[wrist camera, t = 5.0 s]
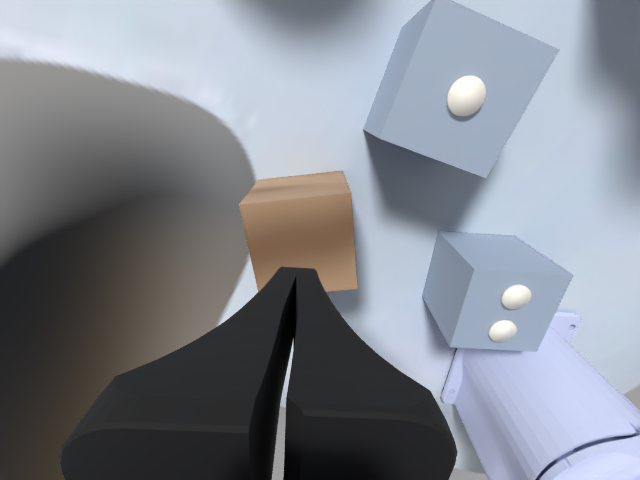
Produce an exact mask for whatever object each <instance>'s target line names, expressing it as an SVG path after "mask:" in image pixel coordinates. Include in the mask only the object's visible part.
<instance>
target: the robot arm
mask: <svg viewBox="0 0 640 480" xmlns="http://www.w3.org/2000/svg"><path fill="white" fill-rule="evenodd" d="M581 320H582V319H581V317H580V316H579V315H577V314H576V313H565V312H556V313H555V315H554V317H553V319H552V321H551V323H550V325H549V328H548V330H547V332H546V334H545V336H544V338H543V340H542V342H541V344H540V346H539V349H538V351H537V352H533V351H513V350H493V349H473V348H457V350H456V353H455V356H454V359H453V362H452V365H451V368H450V371H449V374H448V377H447V380H446V384H445V387H444V390H443V393H442V396H441V399H442V401H443V403H445V404H455V407H456V409H457V411H458V413H459V415H460V418H461V420H462V422H463V424H464V427H465V429H466V431H467V433H468V435H469V438H470V440H471V442H472V444H473V446H474V449H475V451H476V453H477V455H478V458H479V460H480V462H481V464H482V466H483V469H484V471H485V473H486V475H487V477H488V479H489V480H640V411H639V410H638V409H637V408H636V407H635V406H634V405H633V404H632V403H631V402H630V401H629V400H628V399H627V398H626V397H625V396H624V395H623V394H622V393H621V392H620V391H619V390H617V389H616V388H615V387H614V386H613V385H612V384H611V383H610V382H609V381H608V380H607V379H606V378H605V377H604V376H603V375H602V374H601V373H600V372H599V371H598V370H597V369H595V368H594V367H593V366H592V365H591V364H590V363H589V362H588V361H587V360H586V359H585V358H584V357H583V356H582V355H581V354H580V353H579V352H578V351H577V350H576V349H575V348H574V347H572V346H571V345H570V342H571V340H572V338H573V336H574V334H575V332H576V330H577V328H578V326H579V325H580V323H581ZM293 337H294V352H293V359H292V366H291V373H290V379H289V386H288V392H287V399H286V429H285V459H284V478H283V479H284V480H448V479H449V477H450V475H451V472H452V470H453V468H454V465H455V462H456V457H457V449H456V445H455V441H454V438H453V436H452V433H451V431H450V428H449V426H448V424H447V421H446V419H445V417H444V415H443V414H442V412H441V410H440V408H439V406H438V404H437V402H436V401H435V399H434V397H433V395H432V393H431V391H430V390H428V389H427V388H425V387H424V386H422V385H420V384H419V383H417V382H416V381H414V380H413V379H411V378H410V377H408V376H406V375H405V374H403V373H402V372H400V371H399V370H397V369H396V368H395V367H393V366H392V365H391V364H390V363H388V362H387V361H386V360H384V359H383V358H382V357H381V356H379V355H378V354H377V353H376V352H375V351H373V350H372V349H371V348H370V347H369V346H368V345H367V344H366V343H365V342H364V341H363V340H361V338H360V337H359V336H358V335H357V334H356V333H355V332H354V331H353V330H352V329H351V328H350V326H349V325H348V324H347V323H346V322H345V320H344V319H343V318H342V316H341V315H340V314H339V312H338V311H337V309H336V308H335V306H334V305H333V303H332V302H331V300H330V298H329V297H328V295H327V293H326V291H325V290H324V288H323V286H322V284H321V281H320V279H319V276H318V273H317V271H316V270H315V269H314V268H296V267H280V268H279V269H278V270H277V271H276V273H275V274H274V275H273V276H272V278H271V279H270V280H269V281H268V282H267V283H266V285H265V286H264V287H263V288H262V289H261V290H260V291H259V292H258V293H257V294H256V295H255V296H254V297H253V298H252V299H251V300H250V301H249V302H248V303H247V304H246V305H245V306H243V307H242V308H241V309H240V310H239V311H238V312H236V313H235V314H234V315H233V316H232V317H230V318H229V319H228V320H226V321H225V322H224V323H222V324H221V325H219V326H218V327H216V328H215V329H213V330H211V331H210V332H208V333H206V334H205V335H203V336H202V337H200V338H199V339H197V340H195V341H193V342H192V343H190V344H188V345H186V346H184V347H182V348H180V349H178V350H176V351H174V352H172V353H170V354H168V355H166V356H164V357H161V358H159V359H157V360H155V361H152V362H150V363H148V364H145V365H143V366H140V367H138V368H136V369H133V370H131V371H128V372H126V373H123V374H121V375H118V376H115V377H114V379H113V380H112V381H111V382H110V383H109V385H108V386H107V387H106V388H105V389H104V390H103V391H102V393H101V394H100V395H99V396H98V398H97V399H96V400H95V402H94V403H93V404H92V406H91V407H90V409H89V410H88V411H87V413H86V414H85V415H84V417H83V418H82V419H81V420H80V422H79V423H78V424H77V426H76V427H75V428H74V430H73V431H72V432H71V434H70V435H69V436H68V438H67V439H66V440H65V442H64V443H63V444H62V447H61V451H60V455H59V459H60V463H61V468H62V472H63V475H64V477H65V479H66V480H271V479H272V471H273V461H274V453H275V444H276V434H277V425H278V417H279V408H280V402H281V396H282V390H283V385H284V381H285V376H286V371H287V366H288V361H289V357H290V352H291V347H292V342H293Z"/></svg>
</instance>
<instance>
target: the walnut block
mask: <svg viewBox="0 0 640 480" xmlns="http://www.w3.org/2000/svg"><path fill="white" fill-rule="evenodd" d="M239 208H240V212H241V217H242V221H243V226H244V230H245V234H246V239H247V243H248V248H249V252H250V257H251V261H252V265H253V270H254V274H255V279H256V283H257V288H258V292H259V291H260V290H261V289H262V288H263V287H264V286H265V285H266V283H267V282H268V281H269V280H270V279H271V278H272V276H273V275H274V274H275V273H276V271H277V270H278V269H279V268H280V267H296V268H314V269H315V270H316V271H317V273H318V276H319V279H320V281H321V284H322V286H323V288H324V290H325V291H326V292H330V291H341V290H352V289H358V288H357V273H356V259H355V244H354V229H353V214H352V199H351V191H350V189H349V186H348V183H347V181H346V178H345V175H344V173H343V171H335V172H326V173H316V174H307V175H298V176H289V177H280V178H270V179H261V180H258V181H257V182H256V184H255V185H254V186H253V187H252V189H251V190H250V191H249V193H248V194H247V195H246V197H245V198H244V199H243V200H242V201H241V203H240V204H239Z"/></svg>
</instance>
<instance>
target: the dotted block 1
mask: <svg viewBox="0 0 640 480" xmlns="http://www.w3.org/2000/svg"><path fill="white" fill-rule="evenodd" d="M558 52H559V49H557V48H555V47H552V46H550V45H548V44H546V43H544V42H541V41H539V40H537V39H535V38H533V37H530V36H528V35H526V34H524V33H522V32H520V31H517V30H515V29H513V28H511V27H509V26H506V25H504V24H502V23H500V22H498V21H495V20H493V19H491V18H489V17H487V16H484V15H482V14H480V13H478V12H476V11H473V10H471V9H469V8H467V7H465V6H462V5H460V4H458V3H456V2H454V1H451V0H431V1H430V2H429V3H428V4H427V5H426V6H425V7H423V8H422V9H421V10H420V11H419V12H418V13H417V14H416V15H415V16H414V17H413V18H412V19H411V20H409V21H408V22H407V23H406V24H405V25H404V26H403V27H402V29H401V31H400V34H399V36H398V39H397V42H396V44H395V47H394V50H393V52H392V55H391V58H390V60H389V63H388V65H387V68H386V71H385V73H384V76H383V79H382V81H381V84H380V87H379V89H378V92H377V94H376V97H375V100H374V102H373V105H372V108H371V110H370V113H369V116H368V118H367V121H366V123H365V126H364V129H363V130H365V131H367V132H368V133H370V134H372V135H374V136H376V137H377V138H379V139H382V140H384V141H387V142H390V143H392V144H395V145H398V146H400V147H403V148H406V149H409V150H411V151H414V152H417V153H419V154H422V155H425V156H427V157H430V158H433V159H435V160H438V161H441V162H443V163H446V164H449V165H452V166H454V167H457V168H460V169H462V170H465V171H468V172H470V173H473V174H476V175H478V176H481V177H484V178H487V176H488V174H489V173H490V171H491V169H492V167H493V166H494V164H495V162H496V160H497V159H498V157H499V155H500V153H501V152H502V150H503V148H504V146H505V145H506V143H507V141H508V139H509V138H510V136H511V134H512V132H513V131H514V129H515V127H516V125H517V124H518V122H519V120H520V118H521V117H522V115H523V113H524V111H525V110H526V108H527V106H528V104H529V103H530V101H531V99H532V97H533V96H534V94H535V92H536V90H537V89H538V87H539V85H540V83H541V82H542V80H543V78H544V76H545V75H546V73H547V71H548V69H549V67H550V66H551V64H552V62H553V60H554V59H555V57H556V55H557V53H558Z"/></svg>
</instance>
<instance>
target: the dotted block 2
mask: <svg viewBox="0 0 640 480" xmlns="http://www.w3.org/2000/svg"><path fill="white" fill-rule="evenodd" d="M572 277H573V274H571V273H570V272H568V271H567V270H565V269H564V268H562V267H561V266H559V265H558V264H556V263H555V262H553V261H552V260H550V259H549V258H547V257H546V256H544V255H543V254H541V253H540V252H538V251H537V250H535V249H534V248H532V247H531V246H529V245H528V244H526V243H525V242H523V241H522V240H520V239H519V238H517V237H516V236H511V235H495V234H479V233H463V232H447V231H438V234H437V238H436V242H435V246H434V250H433V254H432V258H431V262H430V266H429V271H428V275H427V279H426V283H425V287H424V291H423V295H422V297H423V299H424V301H425V302H426V304H427V306H428V308H429V310H430V312H431V314H432V315H433V317H434V319H435V321H436V323H437V325H438V327H439V329H440V330H441V332H442V334H443V336H444V338H445V340H446V342H447V343H448V345H449V347H454V348H473V349H493V350H513V351H533V352H537V351H538V349H539V346H540V344H541V342H542V340H543V338H544V336H545V334H546V332H547V330H548V328H549V325H550V323H551V321H552V319H553V317H554V315H555V313H556V311H557V309H558V306H559V304H560V302H561V300H562V298H563V296H564V294H565V292H566V290H567V287H568V285H569V283H570V281H571V279H572Z"/></svg>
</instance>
